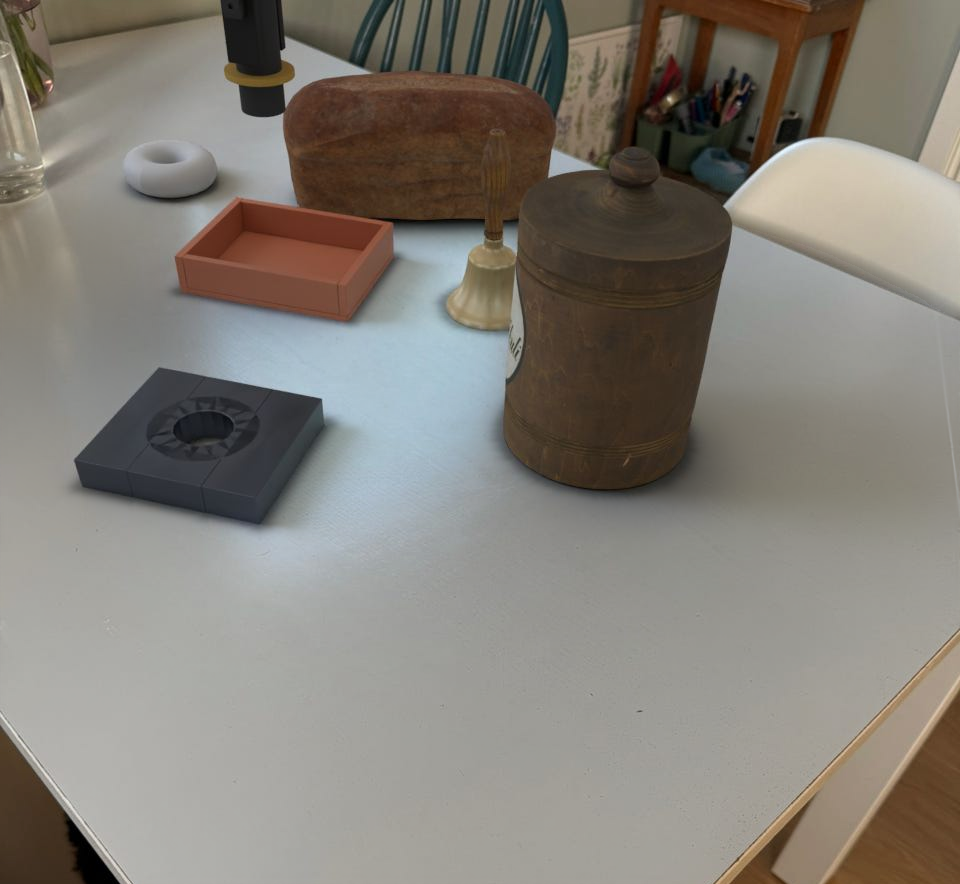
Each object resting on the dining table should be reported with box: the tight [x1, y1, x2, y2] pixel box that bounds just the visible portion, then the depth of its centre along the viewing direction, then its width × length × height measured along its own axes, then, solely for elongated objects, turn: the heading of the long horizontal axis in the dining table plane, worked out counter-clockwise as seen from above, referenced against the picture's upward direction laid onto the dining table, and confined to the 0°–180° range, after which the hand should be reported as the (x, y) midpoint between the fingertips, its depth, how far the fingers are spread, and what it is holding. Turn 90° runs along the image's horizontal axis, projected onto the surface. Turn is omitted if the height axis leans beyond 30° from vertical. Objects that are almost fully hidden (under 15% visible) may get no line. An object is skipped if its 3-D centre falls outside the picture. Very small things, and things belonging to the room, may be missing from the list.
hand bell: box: [445, 129, 517, 332], centre depth 87 cm, size 8×8×16 cm
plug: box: [223, 0, 296, 118], centre depth 77 cm, size 6×6×12 cm
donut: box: [122, 139, 218, 199], centre depth 107 cm, size 10×4×10 cm
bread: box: [282, 70, 557, 221], centre depth 103 cm, size 14×28×12 cm, turn 96°
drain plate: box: [73, 366, 325, 525], centre depth 75 cm, size 14×13×2 cm
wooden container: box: [502, 146, 733, 490], centre depth 72 cm, size 15×15×22 cm
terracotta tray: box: [173, 196, 395, 323], centre depth 94 cm, size 17×14×4 cm
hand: (257, 54), depth 78 cm, fingers closed on plug, 4 cm apart
